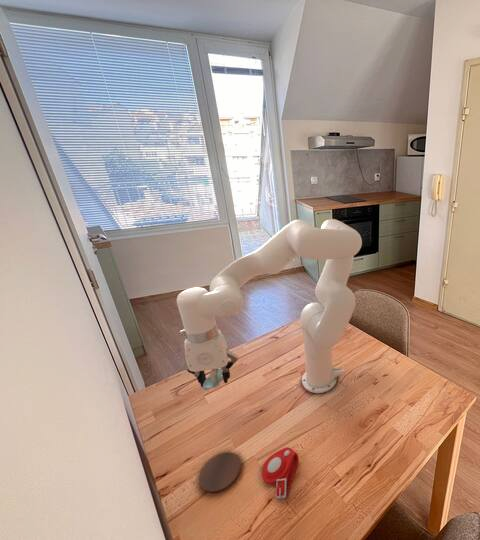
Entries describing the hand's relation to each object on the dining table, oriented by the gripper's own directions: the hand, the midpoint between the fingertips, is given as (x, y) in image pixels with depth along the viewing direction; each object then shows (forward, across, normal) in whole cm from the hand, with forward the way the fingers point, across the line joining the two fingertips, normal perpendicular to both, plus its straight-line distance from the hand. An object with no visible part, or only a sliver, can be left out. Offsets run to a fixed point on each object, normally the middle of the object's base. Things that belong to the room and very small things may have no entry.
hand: (215, 381), depth 87 cm
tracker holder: (+15, +17, -23) cm, 32 cm away
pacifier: (+1, -1, 0) cm, 1 cm away
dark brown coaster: (+15, +2, -18) cm, 24 cm away
